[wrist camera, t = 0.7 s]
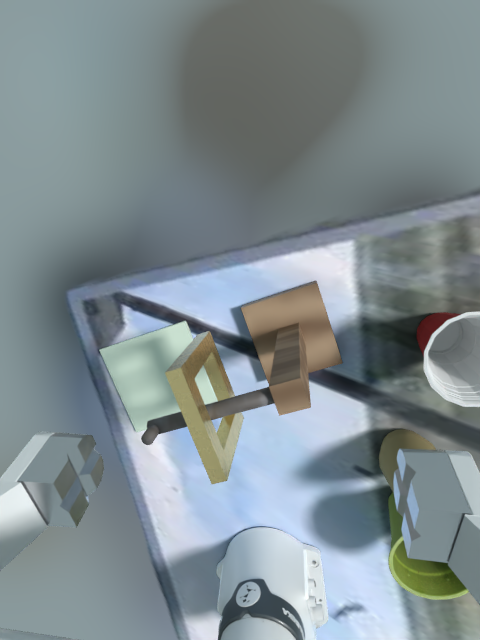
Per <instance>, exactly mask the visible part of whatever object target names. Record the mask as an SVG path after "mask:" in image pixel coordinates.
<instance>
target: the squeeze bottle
mask: <svg viewBox="0 0 480 640" xmlns="http://www.w3.org/2000/svg"><path fill="white" fill-rule="evenodd" d="M399 449H427V450H436V449H435V447H434V446H433V444H432V443H430V442H429V441H427V440H426V439H425V438H423V437H421V436H420V435H418V434H416V433H415V432H413V431H410V430H406V429H398V430H394V431H392V432H390V433H388V434H387V436H386V437H385V438H384V439H383V442H382V445H381V450H380V454H379V464H380V468H381V470H382V472H383V474H384V476H385V478H386V480H387V482H388V484H389V485H390V487H391V489H392V491H393V493H394V473H395V471H396V470H397V469H398V468H399V466H398V462H397V455H398V451H399Z"/></svg>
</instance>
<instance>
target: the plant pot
mask: <svg viewBox="0 0 480 640" xmlns="http://www.w3.org/2000/svg"><path fill="white" fill-rule="evenodd" d="M388 507H389V516H390V527H391V537H392V540H391V550H390V553H389V568H390V571H391V574H392V576H393V577H394V579H395V580H396V581H397V582H398V584H399V585H400V586H402V587H403V588H404V589H406V590H407V591H409V592H411V593H413V594H415V595H417V596H420V597H424V598H428V599H451V598H456V597H459V596H462V595H464V594H466V593H468V592H469V591H468V590H467V588H466V587H465V586H464V585H463V583H462V582H461V581H460V580H459V578H458V577H457V576H456V575H455V573H454V572H453V571H452V570H451V568H450V567H449V566H448V563H445V562H436V561H428V560H420V559H411V558H408V556H407V552H406V548H405V543H404V539H403V535H402V530H401V528H402V523H403V517H402V516H401V515H400V514H399V512H398V511H397V508H396V503H395V497H394V493H393V492H392V493H391V495H390V497H389V499H388Z"/></svg>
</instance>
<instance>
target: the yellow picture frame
mask: <svg viewBox="0 0 480 640" xmlns="http://www.w3.org/2000/svg"><path fill="white" fill-rule="evenodd" d="M203 365H204V368H205V370H206V373H207V375H208V378H209V380H210V383H211V385H212V388H213V390H214V393H215V395H216V398H217V400H218V401H220V400H224V399H228V398H231V397H235V395H234V392H233V390H232V387H231V385H230V382H229V379H228V377H227V374H226V372H225V369H224V367H223V364H222V361H221V359H220V356H219V354H218V351H217V349H216V346H215V343H214V341H213V338H212V336H211V333H210V331H208V332H205V333H202V334H199V335H197V336H196V337H195V338H194V339H193V341H192V342H191V343H190V344H189V345H188V346H187V348H186V349H185V350H184V351H183V352H182V353H181V354H180V356H179V357H178V358H177V359H176V360H175V361H174V363H173V364H172V365H171V366H170V367H169V368H168V369H167V371H166V372H165V375H166V377H167V379H168V382H169V384H170V386H171V389H172V391H173V394H174V396H175V398H176V401H177V403H178V405H179V408H180V410H181V412H182V415H183V417H184V420H185V422H186V424H187V427H188V429H189V431H190V434H191V436H192V438H193V441H194V443H195V446H196V448H197V450H198V453H199V455H200V457H201V460H202V462H203V464H204V467H205V469H206V472H207V474H208V476H209V479H210V481H211V483H212V484H215V483H220V482H224V481H227V480H228V476H229V472H230V468H231V464H232V461H233V457H234V453H235V449H236V445H237V442H238V438H239V434H240V430H241V426H242V423H243V419H244V418H243V415H242V413H241V412H240V413H236V414H232V415H228V416H225V417H223V418H222V421H221V423H220V426H219V429H218V431H217V433H216V431H215V428H214V426H213V423H212V421H211V418H210V416H209V413H208V411H207V409H206V406H205V404H204V401H203V399H202V396H201V394H200V391H199V389H198V386H197V384H196V382H195V377H196V376H197V374H198V373H199V371H200V369H201V368H202V366H203Z"/></svg>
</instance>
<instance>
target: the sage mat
mask: <svg viewBox="0 0 480 640" xmlns="http://www.w3.org/2000/svg"><path fill="white" fill-rule="evenodd" d="M192 341H193V337H192V334H191V332H190V329H189V327H188V324H187V322H186V321H183V322H180V323H177V324H174V325H171V326H168V327H165V328H162V329H159V330H156V331H153V332H150V333H147V334H144V335H141V336H138V337H135V338H132V339H129V340H126V341H123V342H120V343H117V344H114V345H111V346H108V347H105V348H102V349H100V350H99V351H100V353H101V355H102V357H103V360H104V362H105V364H106V366H107V368H108V371H109V373H110V375H111V377H112V379H113V382H114V384H115V386H116V388H117V390H118V393H119V395H120V397H121V399H122V401H123V404H124V406H125V408H126V410H127V413H128V415H129V417H130V419H131V421H132V424H133V426H134V428H135V430H136V432H140V431H144V430H147V422H148V421H149V420H152V419H156V418H159V417H163V416H166V415H170V414H174V413H177V412H181V410H180V408H179V405H178V403H177V401H176V398H175V396H174V394H173V391H172V389H171V386H170V384H169V382H168V379H167V377H166V375H165V372H166V371H167V369H168V368H169V367H170V366H171V365H172V364H173V363H174V361H175V360H176V359H177V358H178V357H179V356H180V354H181V353H182V352H183V351H184V350H185V349H186V348H187V346H188V345H189V344H190V343H191V342H192ZM195 382H196V384H197V386H198V389H199V391H200V394H201V396H202V399H203V401H204V404H205V405H206V404H210V403H213V402H217V401H218V400H217V398H216V395H215V393H214V390H213V388H212V385H211V383H210V380H209V378H208V375H207V373H206V370H205V368H204V365H203V366H202V368H201V369H200V371H199V373H198V374H197V376H196V377H195Z"/></svg>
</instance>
